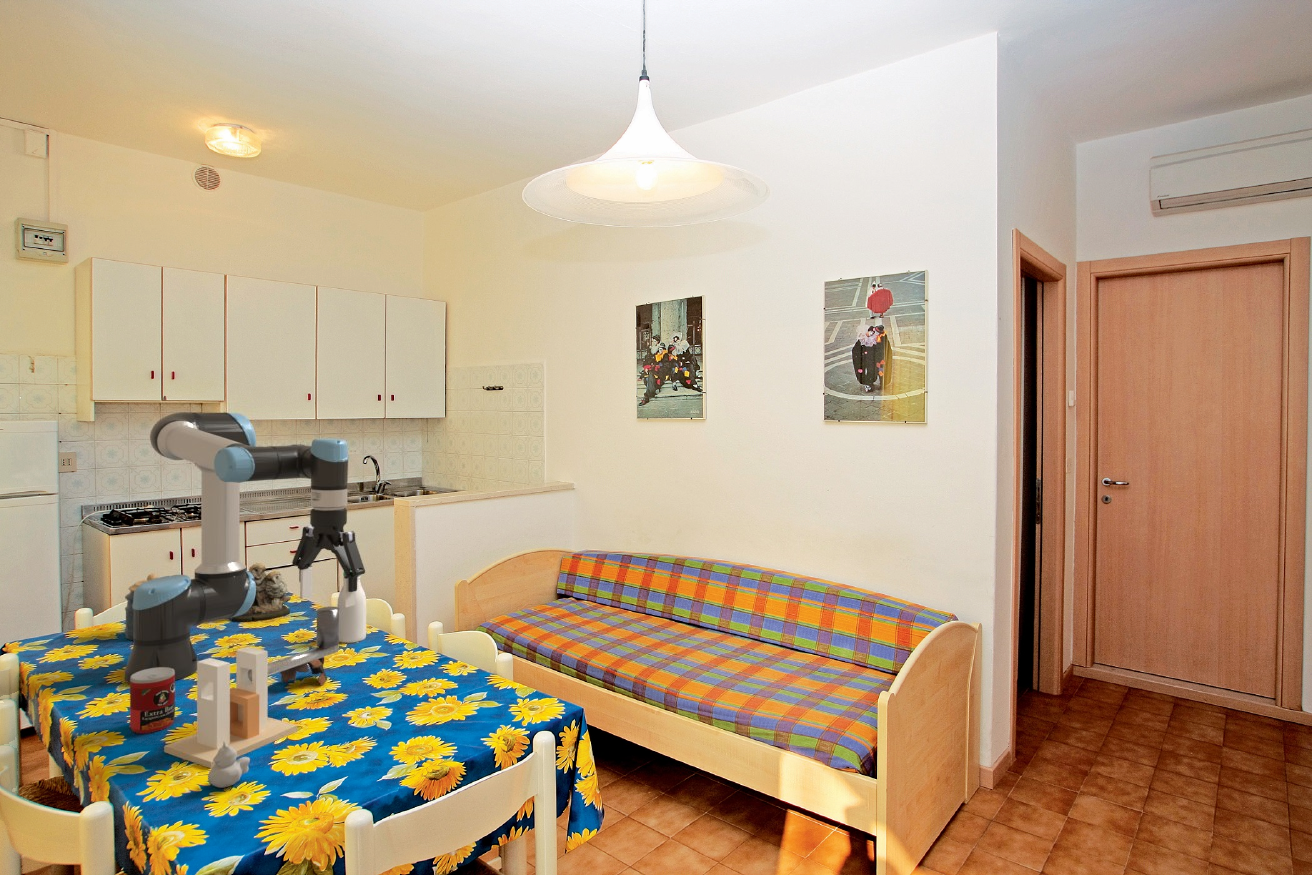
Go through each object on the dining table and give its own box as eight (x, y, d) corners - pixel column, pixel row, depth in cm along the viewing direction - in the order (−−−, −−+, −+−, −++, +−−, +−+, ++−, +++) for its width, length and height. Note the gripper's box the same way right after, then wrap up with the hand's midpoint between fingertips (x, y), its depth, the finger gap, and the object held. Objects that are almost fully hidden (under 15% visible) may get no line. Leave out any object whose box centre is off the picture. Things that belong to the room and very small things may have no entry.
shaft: (259, 682, 148) (259, 631, 147) (244, 679, 150) (244, 628, 149) (343, 653, 166) (343, 608, 166) (328, 650, 168) (329, 605, 168)
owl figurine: (230, 625, 223) (230, 570, 222) (223, 617, 232) (222, 563, 231) (294, 615, 235) (294, 562, 234) (285, 608, 243) (284, 557, 243)
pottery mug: (320, 692, 173) (300, 665, 171) (287, 707, 174) (267, 680, 172) (342, 663, 184) (324, 636, 182) (311, 677, 186) (292, 651, 184)
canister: (168, 625, 222) (168, 567, 221) (187, 633, 214) (187, 573, 214) (117, 635, 211) (117, 574, 211) (135, 644, 204) (135, 581, 203)
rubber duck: (203, 785, 128) (203, 740, 128) (243, 771, 133) (244, 728, 133) (214, 796, 125) (214, 749, 125) (255, 782, 130) (255, 737, 129)
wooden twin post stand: (164, 752, 140) (164, 664, 140) (251, 717, 157) (251, 638, 156) (211, 768, 134) (211, 676, 134) (297, 731, 150) (297, 649, 150)
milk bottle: (371, 638, 213) (372, 569, 212) (348, 645, 206) (348, 574, 206) (355, 633, 217) (355, 566, 216) (331, 640, 210) (331, 570, 210)
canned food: (141, 737, 146) (141, 682, 146) (122, 727, 151) (122, 674, 150) (182, 724, 153) (182, 671, 153) (163, 715, 157) (163, 664, 157)
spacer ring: (221, 730, 147) (221, 691, 147) (232, 726, 149) (233, 687, 149) (247, 739, 144) (247, 698, 144) (259, 734, 146) (259, 694, 146)
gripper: (276, 504, 166) (274, 597, 167) (355, 514, 156) (354, 613, 156) (304, 501, 173) (303, 590, 174) (383, 510, 162) (381, 605, 163)
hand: (327, 601), depth 165 cm, fingers open, 13 cm apart
